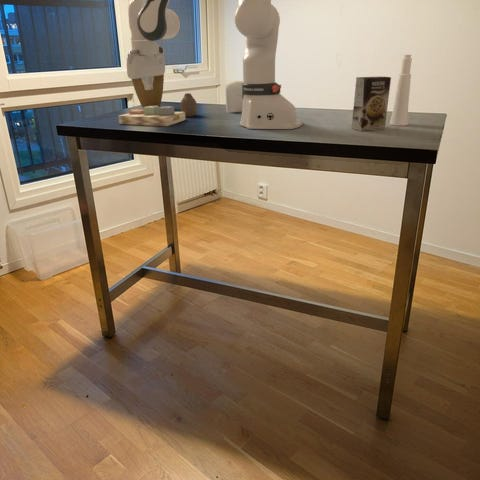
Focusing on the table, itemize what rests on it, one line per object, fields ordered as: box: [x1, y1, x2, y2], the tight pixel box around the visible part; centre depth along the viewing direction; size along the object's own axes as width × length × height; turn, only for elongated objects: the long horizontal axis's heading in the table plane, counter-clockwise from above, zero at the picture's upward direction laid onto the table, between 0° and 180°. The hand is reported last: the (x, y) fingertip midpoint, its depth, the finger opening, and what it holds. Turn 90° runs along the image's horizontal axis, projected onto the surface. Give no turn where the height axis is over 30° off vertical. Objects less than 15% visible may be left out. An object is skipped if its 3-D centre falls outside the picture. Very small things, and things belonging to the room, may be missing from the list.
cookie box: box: [351, 76, 392, 132], centre depth 138 cm, size 9×6×16 cm
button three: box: [142, 106, 159, 115], centre depth 163 cm, size 4×4×3 cm
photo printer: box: [225, 80, 243, 114], centre depth 179 cm, size 10×4×12 cm, turn 109°
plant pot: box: [131, 74, 165, 109], centre depth 193 cm, size 15×15×16 cm
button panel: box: [118, 111, 186, 127], centre depth 164 cm, size 21×14×3 cm, turn 68°
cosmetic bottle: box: [389, 54, 413, 127], centre depth 142 cm, size 6×6×22 cm
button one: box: [129, 109, 144, 115], centre depth 166 cm, size 4×4×3 cm
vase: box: [180, 92, 198, 118], centre depth 174 cm, size 7×7×9 cm
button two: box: [158, 105, 176, 116], centre depth 161 cm, size 4×4×3 cm
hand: (148, 89), depth 160 cm, fingers closed
